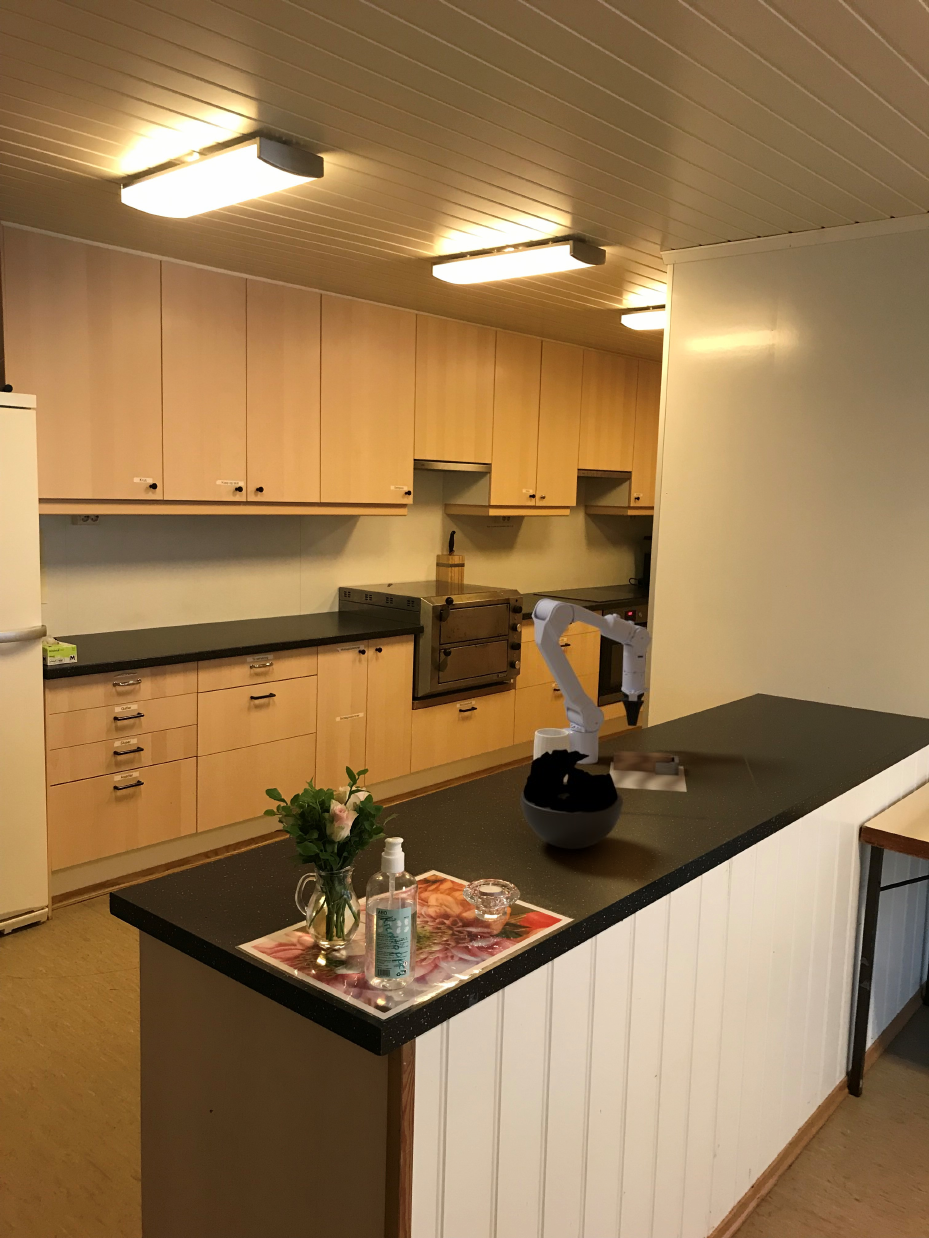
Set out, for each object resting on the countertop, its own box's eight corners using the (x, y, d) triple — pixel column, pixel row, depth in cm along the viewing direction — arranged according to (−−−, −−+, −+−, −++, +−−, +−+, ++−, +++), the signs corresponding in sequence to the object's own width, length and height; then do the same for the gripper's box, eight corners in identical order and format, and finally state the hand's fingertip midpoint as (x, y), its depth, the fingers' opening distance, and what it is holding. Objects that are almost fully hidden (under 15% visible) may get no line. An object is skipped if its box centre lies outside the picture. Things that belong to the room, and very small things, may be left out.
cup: (567, 798, 224) (568, 737, 222) (530, 795, 225) (531, 735, 224) (570, 787, 232) (572, 728, 230) (535, 785, 234) (536, 726, 232)
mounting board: (607, 789, 230) (608, 786, 230) (610, 765, 251) (610, 762, 251) (686, 794, 227) (686, 791, 227) (683, 769, 248) (683, 766, 248)
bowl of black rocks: (556, 821, 208) (558, 735, 206) (640, 843, 196) (643, 751, 193) (499, 847, 193) (500, 754, 190) (586, 873, 180) (588, 774, 178)
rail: (613, 769, 244) (613, 754, 244) (613, 766, 247) (614, 750, 247) (671, 773, 242) (671, 757, 241) (670, 769, 245) (671, 753, 244)
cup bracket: (655, 774, 241) (655, 762, 240) (654, 766, 247) (655, 754, 247) (678, 775, 240) (679, 763, 239) (677, 767, 246) (678, 756, 246)
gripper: (649, 676, 248) (647, 729, 250) (649, 666, 262) (647, 716, 264) (621, 675, 249) (619, 728, 251) (622, 665, 263) (621, 715, 265)
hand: (632, 722), depth 257 cm, fingers open, 7 cm apart
